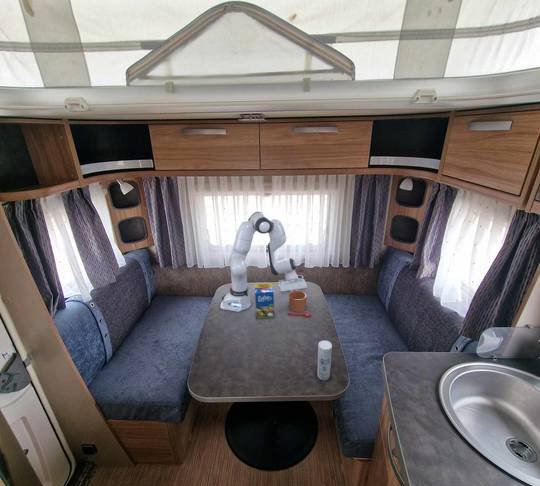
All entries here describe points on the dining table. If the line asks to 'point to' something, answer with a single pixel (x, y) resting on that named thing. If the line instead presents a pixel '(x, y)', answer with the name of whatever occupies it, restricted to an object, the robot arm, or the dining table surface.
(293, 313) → the red spoon
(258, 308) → the blue food package
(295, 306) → the copper pot
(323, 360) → the spray can
